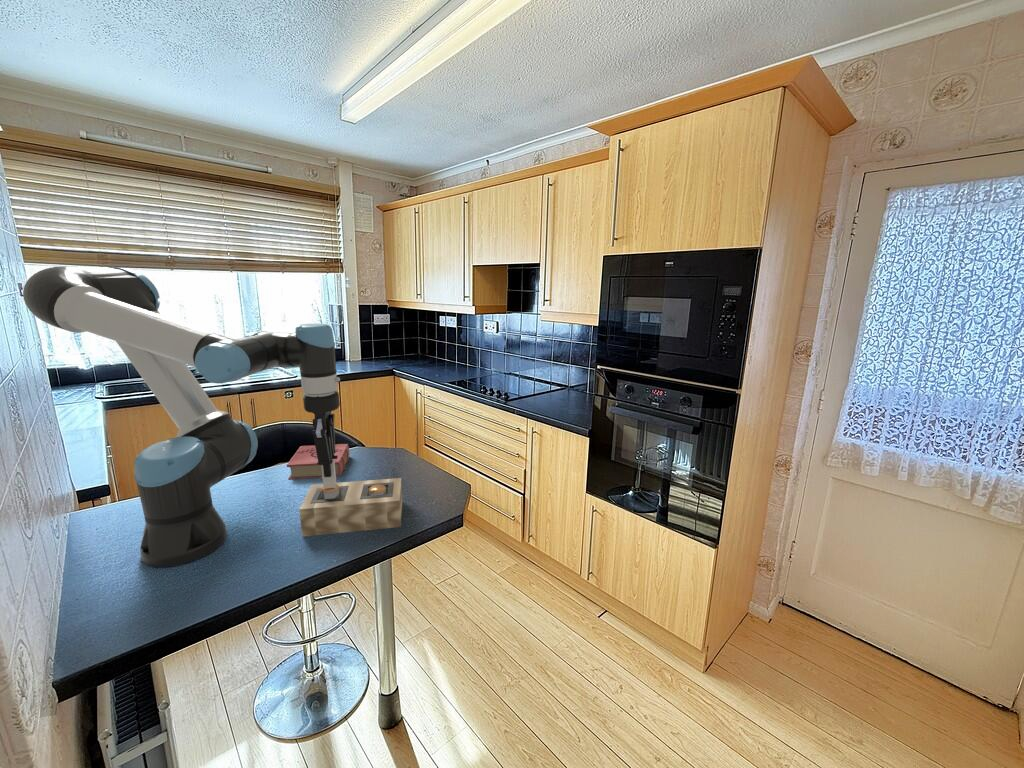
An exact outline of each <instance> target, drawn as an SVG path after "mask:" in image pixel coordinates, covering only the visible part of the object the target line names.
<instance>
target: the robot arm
mask: <svg viewBox="0 0 1024 768" xmlns="http://www.w3.org/2000/svg"><path fill="white" fill-rule="evenodd" d="M22 296H23V297H22V298H23V301H24V303H25V306H26V308H28V310H29V311H30V313H31V314H33V316H34V317H36V318H38V319H39V320H40V321H42V322H44V323H46V324H48V325H50V326H53V327H54V328H57V329H61V330H65V331H66V332H67V331H68V332H71V333H75V334H79V333H80V334H81V333H85V332H88V333H91V334H94V335H96V336H99V337H103V338H106V339H108V340H113V341H115V342H116V343H117V345H118V346H119V347H120V349H121V350H122V352H123V353H124V355H125V356H126V357H127V359H128V360H129V362H130V363H131V365H133V367H134V368H135V370H136V371H137V373H138V374H139V376H140V377H141V378H142V380H143V381H144V383H145V384H146V385H147V387H148V388H149V389H150V391H151V392H152V393H153V395H154V397H155V398H156V399H157V401H158V402H159V404H160V405H161V407H163V409H164V410H165V412H166V413H167V414H168V416H169V417H170V418H171V420H172V422H173V423H174V424H175V425H176V427H177V429H178V430H177V434H176V437H172V438H169V439H167V440H161V441H158V442H156V443H153V444H151V445H149V446H148V447H145V449H143V450H141V452H139V453H138V454H137V456H136V457H135V458H134V461H133V462H134V463H133V464H134V479H135V482H136V486H137V490H138V494H139V498H140V503H141V506H142V513H143V516H144V521H145V524H144V525H145V526H144V530H143V533H142V539H141V544H140V547H139V549H140V550H139V551H140V552H139V553H140V557H141V561H142V562H143V563H144V565H147V566H149V567H152V568H168V567H175V566H180V565H183V564H188V563H191V562H193V561H196V560H198V559H201V558H203V557H206V556H207V555H209V554H211V553H212V552H214V551H216V550H217V549H218V548H220V547H221V546H222V544H223V543H225V541H226V539H227V536H228V532H227V525H226V523H225V522H224V520H223V519H222V517H221V515H220V514H219V513H218V511H217V509H216V508H215V507H214V504H213V499H212V493H211V488H212V487H214V486H215V485H217V484H218V483H221V481H223V480H225V479H226V478H229V476H231V475H233V474H234V473H236V472H239V471H240V470H242V469H243V468H245V467H246V466H247V465H248V464H249V463H251V462H252V461H253V459H254V458H255V457H256V455H257V450H258V447H259V445H258V443H259V442H258V437H257V434H256V432H255V431H254V430H253V428H252V427H251V426H250V425H249V424H248V423H246V422H243V421H241V420H235V419H233V418H232V416H231V414H230V413H229V412H227V411H223V410H219V409H218V408H217V407H216V405H215V404H214V403H213V401H212V400H211V399H210V397H209V395H208V394H207V393H206V391H205V390H204V388H203V387H202V386H201V383H200V382H199V381H198V380H197V378H196V377H195V375H194V374H193V372H192V371H191V370H190V368H189V367H188V366H191V367H193V368H196V371H197V372H198V374H199V375H200V376H202V378H204V379H205V380H206V381H208V382H209V383H213V384H226V383H230V382H231V383H232V382H236V381H238V380H239V381H240V380H241V379H243V378H246V377H248V376H252V375H254V374H257V373H260V372H264V371H266V370H270V369H272V368H276V367H294V368H296V367H298V368H299V373H300V383H301V392H302V393H303V396H302V401H303V409H304V411H306V412H307V413H311V414H313V415H314V418H313V419H312V427H314V429H312V431H311V435H312V438H313V441H314V446H315V447H316V453H317V458H318V462H317V465H321V469H322V477H321V479H322V484H323V488H324V489H326V488H336V485H337V483H338V482H337V476H336V473H335V462H334V460H332V459H337V458H338V455H336V456H334V454H335V452H336V450H335V444H336V437H335V436H336V435H335V434H336V433H335V431H336V430H335V413H334V411H336V410H339V408H340V403H341V402H340V393H339V392H338V389H339V384H338V382H340V381H341V378H340V377H338V374H337V373H338V371H337V363H336V348H335V346H336V343H335V339H334V332H333V331H334V330H333V327H331V325H329V324H328V323H302V324H298V325H297V326H296V327H295V332H274V331H273V332H270V331H256V332H248V333H247V334H246V335H245V336H244V337H241V338H230V337H227V336H224V335H221V334H217V333H214V332H212V331H210V330H206V329H203V328H201V327H198V326H194V325H192V324H189V323H185V322H183V321H178V320H176V319H173V318H171V317H169V316H168V317H167V316H164V315H161V314H160V312H159V308H160V304H161V302H160V300H159V299H160V293H159V291H158V289H157V287H156V286H155V284H154V283H153V281H152V280H151V279H149V278H148V277H147V275H144V274H143V273H141V272H140V271H137V270H134V269H131V268H124V267H122V268H121V267H118V266H104V267H91V266H89V267H87V266H86V267H85V266H53V267H47V268H44V269H41V270H39V271H37V272H36V273H34V274H33V275H31V276H30V277H29V278H28V279H27V281H26V282H25V284H24V286H23V290H22ZM187 365H188V366H187Z"/></svg>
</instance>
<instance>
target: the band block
mask: <svg viewBox="0 0 1024 768" xmlns="http://www.w3.org/2000/svg"><path fill="white" fill-rule="evenodd" d="M336 483H337V485H338V487H339V497H340V498H336V499H324V500H322V498H321V488H322V487H323V483H317V484H314V483H313V484H311V485H310V487H309V489H308V492H307V493H306V495H305V497H304V499H303V501H302V503H301V504H300V507H299V517H300V519H299V520H300V526H301V536H302V538H303V537H311V536H313V537H314V536H321V535H331V534H333V535H334V534H342V533H353V532H361V531H372V530H384V529H392V528H394V529H395V528H401V527H402V514H403V489H402V488H403V487H402V477H395V478H384V479H383V478H382V479H372V480H371V479H368V480H357V481H355V480H354V481H345V482H336ZM374 485H384V486H385V487H386V494H384V495H372V496H369V488H370V487H372V486H374Z"/></svg>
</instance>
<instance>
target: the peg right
mask: <svg viewBox="0 0 1024 768" xmlns="http://www.w3.org/2000/svg"><path fill="white" fill-rule="evenodd" d="M384 494H386V487H385V486H384V485H374V486H372V487H370V488H369V496H372V495H384Z"/></svg>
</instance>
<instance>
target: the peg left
mask: <svg viewBox="0 0 1024 768" xmlns="http://www.w3.org/2000/svg"><path fill="white" fill-rule="evenodd" d="M321 498H322V500H324V499H336V498H340V497H339V487H338V485H336V488H326V489H324V488H323V487H322V488H321Z"/></svg>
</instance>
